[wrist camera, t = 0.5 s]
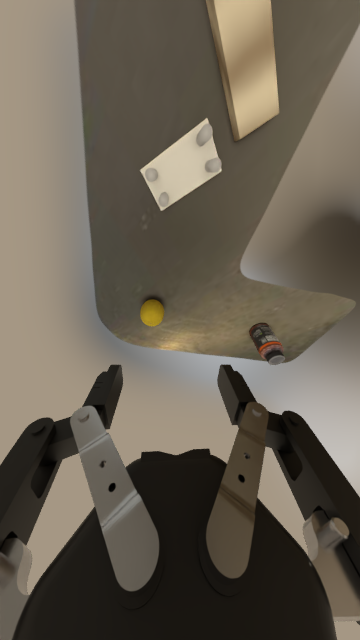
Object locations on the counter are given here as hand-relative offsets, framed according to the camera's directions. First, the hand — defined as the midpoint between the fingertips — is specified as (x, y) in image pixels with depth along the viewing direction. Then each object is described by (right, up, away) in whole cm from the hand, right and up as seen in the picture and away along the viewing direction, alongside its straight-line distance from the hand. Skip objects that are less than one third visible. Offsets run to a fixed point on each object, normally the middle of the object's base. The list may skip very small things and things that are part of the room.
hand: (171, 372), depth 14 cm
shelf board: (+8, +35, +7) cm, 37 cm away
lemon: (-6, +9, +29) cm, 31 cm away
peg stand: (+1, +28, +13) cm, 31 cm away
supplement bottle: (+25, +1, +37) cm, 45 cm away
